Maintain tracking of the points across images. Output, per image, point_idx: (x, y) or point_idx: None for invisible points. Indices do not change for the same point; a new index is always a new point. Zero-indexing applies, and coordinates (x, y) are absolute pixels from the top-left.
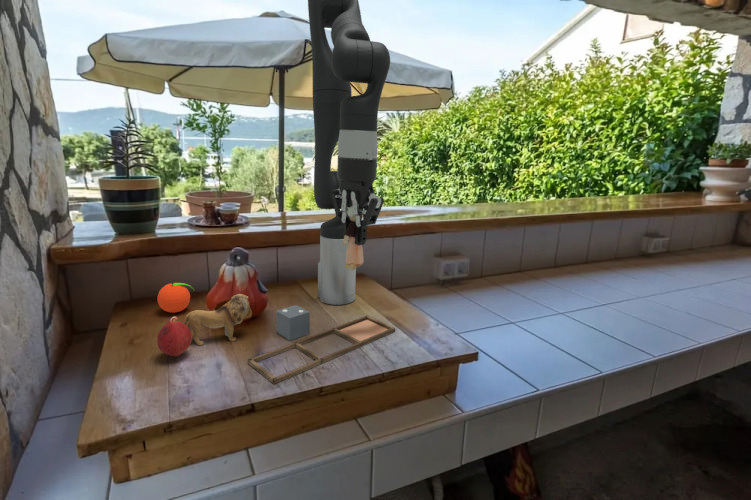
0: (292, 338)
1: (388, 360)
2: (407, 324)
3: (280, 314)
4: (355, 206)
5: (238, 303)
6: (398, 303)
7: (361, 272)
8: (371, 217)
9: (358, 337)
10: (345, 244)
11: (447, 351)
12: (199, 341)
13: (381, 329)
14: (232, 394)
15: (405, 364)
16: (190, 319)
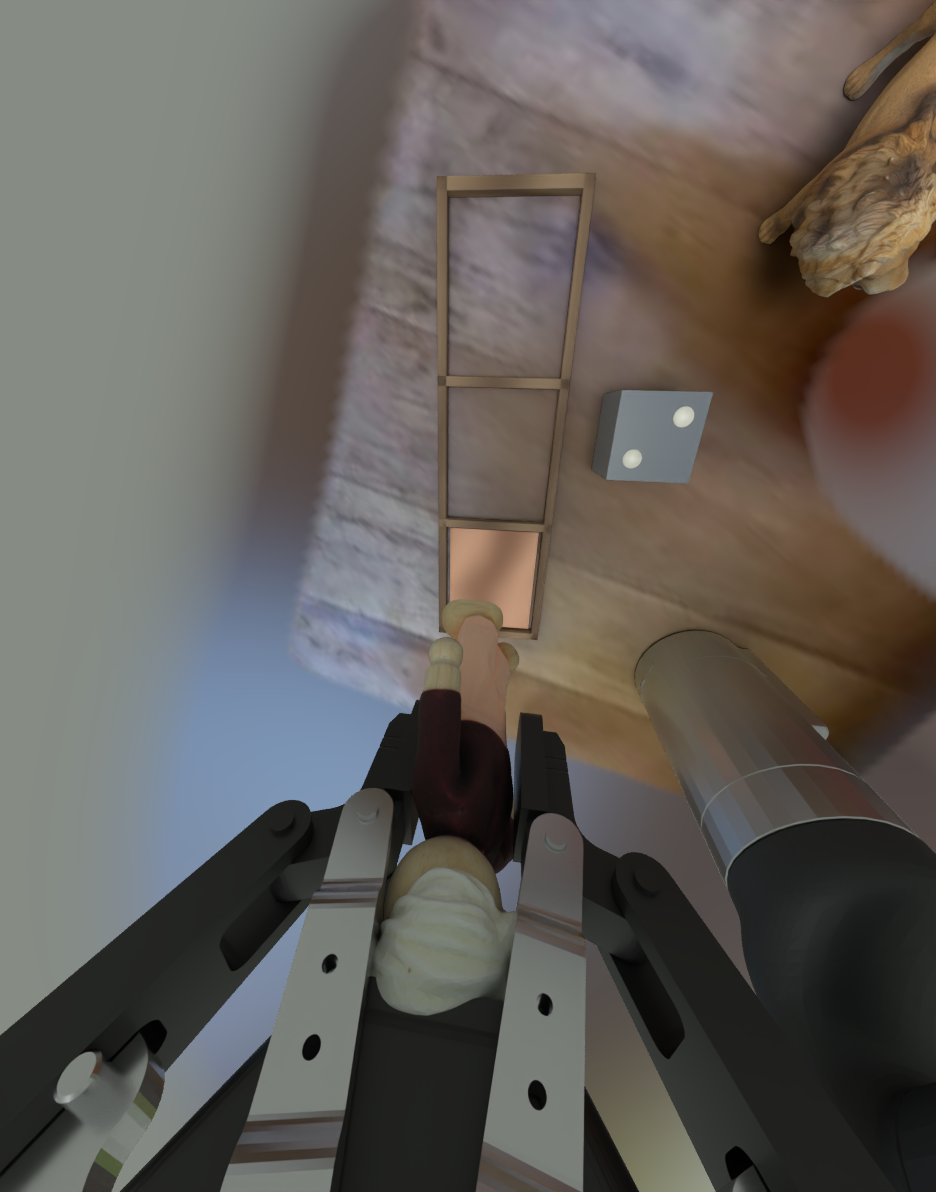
0: (602, 403)
1: (353, 517)
2: None
3: (680, 391)
4: (310, 1004)
5: (862, 196)
6: None
7: None
8: (283, 911)
9: (473, 544)
10: (435, 641)
11: (311, 630)
12: (872, 65)
13: None
14: (477, 11)
15: (320, 531)
16: None
